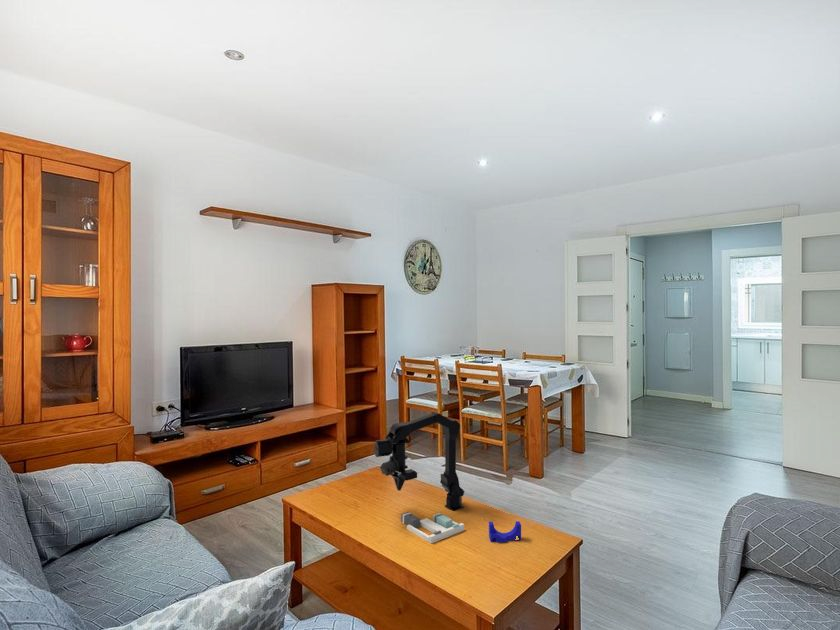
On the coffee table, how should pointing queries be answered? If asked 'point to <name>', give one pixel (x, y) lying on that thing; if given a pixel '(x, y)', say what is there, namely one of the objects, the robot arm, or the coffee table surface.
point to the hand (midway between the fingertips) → (399, 490)
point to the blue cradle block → (502, 537)
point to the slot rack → (436, 530)
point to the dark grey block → (410, 519)
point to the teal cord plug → (442, 520)
